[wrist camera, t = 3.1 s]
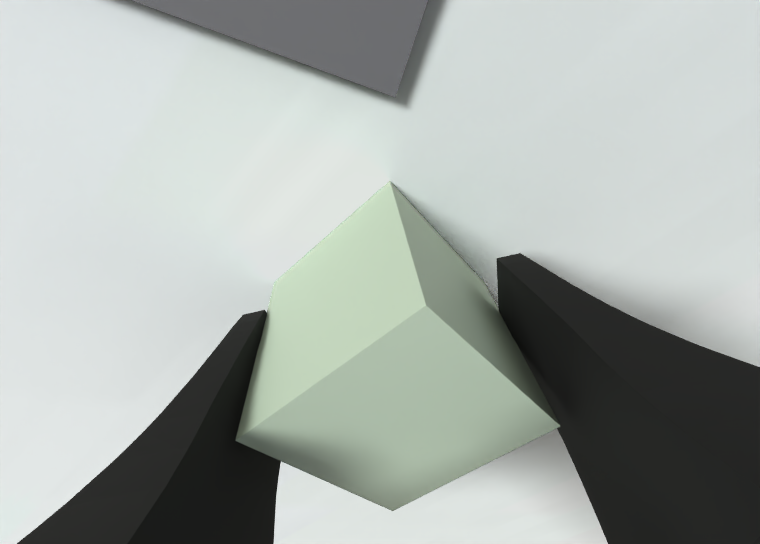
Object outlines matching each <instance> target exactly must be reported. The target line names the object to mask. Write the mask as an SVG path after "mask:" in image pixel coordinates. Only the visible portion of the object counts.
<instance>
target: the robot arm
mask: <svg viewBox="0 0 760 544" xmlns="http://www.w3.org/2000/svg"><path fill="white" fill-rule="evenodd" d="M497 279H498V305H499V312H500V314H501V316H502V318H503V320H504V322H505V324H506V326H507V327H508V329H509V331H510V333H511V335H512V337H513V339H514V340H515V342H516V344H517V345H518V347H519V349H520V351H521V353H522V355H523V357H524V358H525V360H526V362H527V364H528V366H529V368H530V370H531V372H532V373H533V375H534V377H535V379H536V381H537V383H538V385H539V387H540V388H541V390H542V392H543V394H544V396H545V398H546V400H547V402H548V403H549V405H550V407H551V409H552V411H553V413H554V415H555V417H556V418H557V420H558V422H559V424H560V427H558V428H557V429H558V431H559V433H560V435H561V437H562V439H563V441H564V443H565V445H566V447H567V450H568V452H569V454H570V456H571V459H572V461H573V463H574V465H575V467H576V470H577V472H578V474H579V476H580V479H581V481H582V483H583V486H584V488H585V490H586V492H587V495H588V497H589V499H590V502H591V504H592V506H593V509H594V511H595V513H596V516H597V518H598V520H599V523H600V525H601V527H602V530H603V532H604V535H605V537H606V540H607V542H608V544H760V367H757V366H754V365H752V364H749V363H746V362H743V361H740V360H738V359H735V358H732V357H729V356H726V355H724V354H721V353H718V352H715V351H712V350H710V349H707V348H704V347H702V346H699V345H697V344H694V343H692V342H689V341H686V340H684V339H682V338H679V337H677V336H675V335H672V334H670V333H668V332H665V331H663V330H661V329H658V328H656V327H654V326H651V325H649V324H647V323H645V322H643V321H640V320H638V319H636V318H634V317H632V316H630V315H628V314H626V313H624V312H622V311H620V310H618V309H616V308H614V307H612V306H610V305H608V304H606V303H604V302H602V301H600V300H599V299H597V298H595V297H593V296H591V295H589V294H588V293H586V292H584V291H582V290H581V289H579V288H577V287H575V286H574V285H572V284H570V283H568V282H567V281H565V280H563V279H562V278H560V277H558V276H557V275H555V274H553V273H552V272H550V271H548V270H547V269H545V268H544V267H542V266H540V265H539V264H537V263H536V262H534V261H532V260H531V259H529V258H527V257H526V256H524V255H522V254H520V253H519V254H515V255H510V256H506V257H501V258H497ZM266 317H267V313H266V311H265V310H263V311H258V312H254V313H249V314H245V315H243V316H242V317H241V318H240V319H239V320H238V321H237V323H236V324H235V325H234V326H233V327H232V329H231V330H230V331H229V332H228V334H227V335H226V336H225V337H224V339H223V340H222V341H221V343H220V344H219V345H218V346H217V348H216V349H215V350H214V351H213V353H212V354H211V355H210V356H209V358H208V359H207V360H206V361H205V363H204V364H203V365H202V366H201V367H200V369H199V370H198V371H197V372H196V374H195V375H194V376H193V377H192V378H191V380H190V381H189V382H188V383H187V384H186V385H185V386H184V388H183V389H182V390H181V391H180V392H179V393H178V395H177V396H176V397H175V398H174V399H173V400H172V401H171V403H170V404H169V405H168V406H167V407H166V408H165V409H164V411H163V412H162V413H161V414H160V415H159V416H158V417H157V418H156V419H155V420H154V421H153V422H152V423H151V424H150V426H149V427H148V428H147V429H146V430H145V431H144V432H143V433H142V434H141V435H140V436H139V437H138V438H137V439H136V440H135V441H134V442H133V443H132V444H131V445H130V446H129V447H128V448H127V449H126V450H125V451H124V452H123V453H122V454H120V455H119V456H118V457H117V458H116V459H115V460H114V461H113V462H112V463H111V464H110V465H109V466H108V467H106V468H105V469H104V470H103V471H102V472H101V473H100V474H99V475H97V476H96V477H95V478H94V479H93V480H92V481H91V482H90V483H89V484H87V485H86V486H85V487H84V488H83V489H82V490H81V491H80V492H78V493H77V494H76V495H75V496H74V497H73V498H72V499H71V500H70V501H68V502H67V503H66V504H65V505H64V506H62V507H61V508H60V509H59V510H58V511H56V512H55V513H54V514H53V515H52V516H50V517H49V518H48V519H47V520H46V521H44V522H43V523H42V524H41V525H40V526H38V527H37V528H36V529H35V530H33V531H32V532H31V533H30V534H28V535H27V536H26V537H25V538H23V539H22V540H21V541H19V542H18V543H17V544H273V542H274V523H275V505H276V492H277V483H278V475H279V469H280V463H281V461H280V460H277V459H275V458H273V457H271V456H268V455H266V454H264V453H262V452H260V451H257V450H255V449H253V448H251V447H248V446H246V445H244V444H242V443H239V442H237V441H235V440H236V436H237V432H238V428H239V424H240V420H241V416H242V412H243V408H244V403H245V399H246V395H247V391H248V387H249V383H250V379H251V375H252V371H253V367H254V363H255V359H256V355H257V351H258V347H259V344H260V341H261V337H262V333H263V329H264V325H265V321H266Z"/></svg>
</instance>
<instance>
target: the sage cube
mask: <svg viewBox="0 0 760 544" xmlns="http://www.w3.org/2000/svg"><path fill="white" fill-rule="evenodd" d="M558 427H560V424H559V422H558V420H557V418H556V417H555V415H554V413H553V411H552V409H551V407H550V405H549V403H548V402H547V400H546V398H545V396H544V394H543V392H542V390H541V388H540V387H539V385H538V383H537V381H536V379H535V377H534V375H533V373H532V372H531V370H530V368H529V366H528V364H527V362H526V360H525V358H524V357H523V355H522V353H521V351H520V349H519V347H518V345H517V344H516V342H515V340H514V339H513V337H512V335H511V333H510V331H509V329H508V327H507V326H506V324H505V322H504V320H503V318H502V316H501V314H500V312H499V310H498V308H497V306H496V304H495V302H494V300H493V298H492V297H491V295H490V293H489V291H488V289H487V287H486V285H485V283H484V282H483V281H482V280H481V279H480V277H479V276H478V275H477V274H476V273H475V272H474V271H473V270H472V269H471V268H470V267H469V266H468V265H467V263H466V262H465V261H464V260H463V259H462V258H461V257H460V256H459V255H458V254H457V253H456V252H455V251H454V250H453V248H452V247H451V246H450V245H449V244H448V243H447V242H446V241H445V240H444V239H443V238H442V237H441V236H440V234H439V233H438V232H437V231H436V230H435V229H434V228H433V227H432V226H431V225H430V224H429V223H428V222H427V221H426V219H425V218H424V217H423V216H422V215H421V214H420V213H419V212H418V211H417V210H416V209H415V208H414V207H413V205H412V204H411V203H410V202H409V201H408V200H407V199H406V198H405V197H404V196H403V195H402V194H401V193H400V192H399V190H398V189H397V188H396V187H395V186H394V185H393V184H392V183H391V182H390V181H389V182H388V183H387V184H386V185H385V186H384V187H382V188H381V189H380V190H379V191H378V192H377V193H376V194H374V195H373V196H372V197H371V198H370V199H369V200H368V201H367V202H365V203H364V204H363V205H362V206H361V207H360V208H359V209H357V210H356V211H355V212H354V213H353V214H352V215H351V216H349V217H348V218H347V219H346V220H345V221H344V222H343V223H341V224H340V225H339V226H338V227H337V228H336V229H335V230H334V231H332V232H331V233H330V234H329V235H328V236H327V237H326V238H324V239H323V240H322V241H321V242H320V243H319V244H318V245H316V246H315V247H314V248H313V249H312V250H311V251H310V252H308V253H307V254H306V255H305V256H304V257H303V258H302V259H301V260H299V261H298V262H297V263H296V264H295V265H294V266H293V267H291V268H290V269H289V270H288V271H287V272H286V273H285V274H283V275H282V276H281V277H280V278H279V279H278V280H277V281H276V282H274V286H273V290H272V294H271V298H270V302H269V306H268V310H267V317H266V321H265V325H264V329H263V333H262V337H261V341H260V344H259V347H258V351H257V355H256V359H255V363H254V367H253V371H252V375H251V379H250V383H249V387H248V391H247V395H246V399H245V403H244V408H243V412H242V416H241V420H240V424H239V428H238V432H237V436H236V440H235V441H237V442H239V443H242V444H244V445H246V446H248V447H251V448H253V449H255V450H257V451H260V452H262V453H264V454H266V455H268V456H271V457H273V458H275V459H277V460H280V461H282V462H284V463H286V464H289V465H291V466H293V467H295V468H298V469H300V470H302V471H304V472H306V473H309V474H311V475H313V476H315V477H318V478H320V479H322V480H324V481H327V482H329V483H331V484H333V485H336V486H338V487H340V488H342V489H344V490H347V491H349V492H351V493H353V494H356V495H358V496H360V497H362V498H365V499H367V500H369V501H371V502H374V503H376V504H378V505H380V506H382V507H385V508H387V509H389V510H391V511H394V510H396V509H398V508H400V507H402V506H404V505H406V504H408V503H410V502H412V501H414V500H415V499H417V498H419V497H421V496H423V495H425V494H427V493H429V492H431V491H433V490H435V489H437V488H439V487H441V486H443V485H445V484H447V483H449V482H451V481H453V480H455V479H457V478H459V477H461V476H463V475H465V474H467V473H469V472H471V471H473V470H475V469H477V468H479V467H481V466H483V465H485V464H487V463H489V462H491V461H493V460H495V459H497V458H499V457H501V456H503V455H505V454H507V453H509V452H511V451H513V450H515V449H517V448H519V447H521V446H523V445H525V444H526V443H528V442H530V441H532V440H534V439H536V438H538V437H540V436H542V435H544V434H546V433H548V432H550V431H552V430H554V429H556V428H558Z"/></svg>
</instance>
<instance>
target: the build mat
mask: <svg viewBox="0 0 760 544" xmlns="http://www.w3.org/2000/svg"><path fill="white" fill-rule="evenodd" d="M132 1H134V2H137V3H140V4H143V5H145V6H148V7H151V8H153V9H156V10H159V11H162V12H164V13H167V14H170V15H172V16H175V17H178V18H181V19H183V20H186V21H189V22H191V23H194V24H197V25H200V26H202V27H205V28H208V29H210V30H213V31H216V32H219V33H221V34H224V35H227V36H229V37H232V38H235V39H238V40H240V41H243V42H246V43H248V44H251V45H254V46H257V47H259V48H262V49H265V50H267V51H270V52H273V53H276V54H278V55H281V56H284V57H286V58H289V59H292V60H295V61H297V62H300V63H303V64H305V65H308V66H311V67H314V68H316V69H319V70H322V71H324V72H327V73H330V74H333V75H335V76H338V77H341V78H343V79H346V80H349V81H352V82H354V83H357V84H360V85H362V86H365V87H368V88H371V89H373V90H376V91H379V92H381V93H384V94H387V95H390V96H392V97H396V94H397V91H398V88H399V85H400V82H401V79H402V76H403V73H404V70H405V67H406V65H407V62H408V59H409V56H410V53H411V50H412V47H413V44H414V41H415V38H416V35H417V32H418V29H419V26H420V23H421V20H422V17H423V14H424V11H425V8H426V5H427V2H428V0H132Z"/></svg>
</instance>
